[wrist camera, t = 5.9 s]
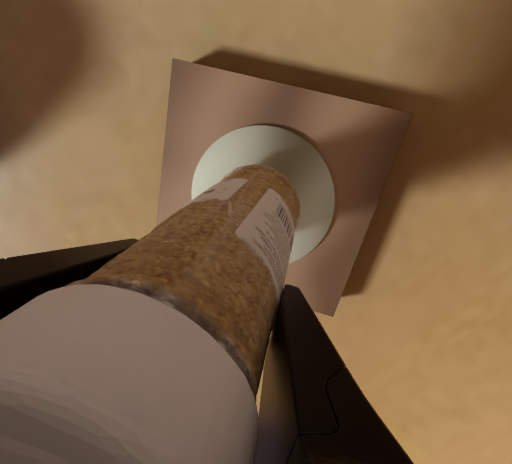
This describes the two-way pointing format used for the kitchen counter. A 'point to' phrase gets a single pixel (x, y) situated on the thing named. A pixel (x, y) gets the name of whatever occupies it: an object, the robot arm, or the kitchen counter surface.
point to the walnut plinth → (284, 161)
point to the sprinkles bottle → (156, 339)
